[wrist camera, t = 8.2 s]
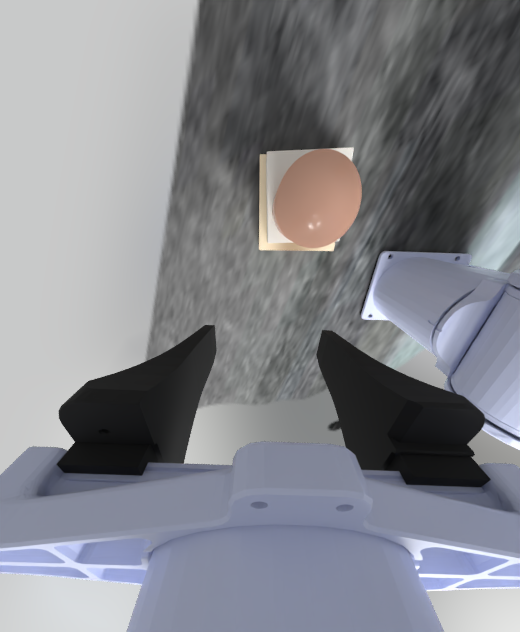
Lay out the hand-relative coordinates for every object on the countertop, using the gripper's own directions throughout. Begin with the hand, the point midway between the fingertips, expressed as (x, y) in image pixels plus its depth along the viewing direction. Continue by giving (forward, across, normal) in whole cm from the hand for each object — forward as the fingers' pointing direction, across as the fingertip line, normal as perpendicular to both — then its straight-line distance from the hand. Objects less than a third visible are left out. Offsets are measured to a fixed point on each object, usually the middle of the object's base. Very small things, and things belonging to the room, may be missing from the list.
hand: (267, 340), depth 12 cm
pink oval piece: (+5, -2, -8) cm, 10 cm away
